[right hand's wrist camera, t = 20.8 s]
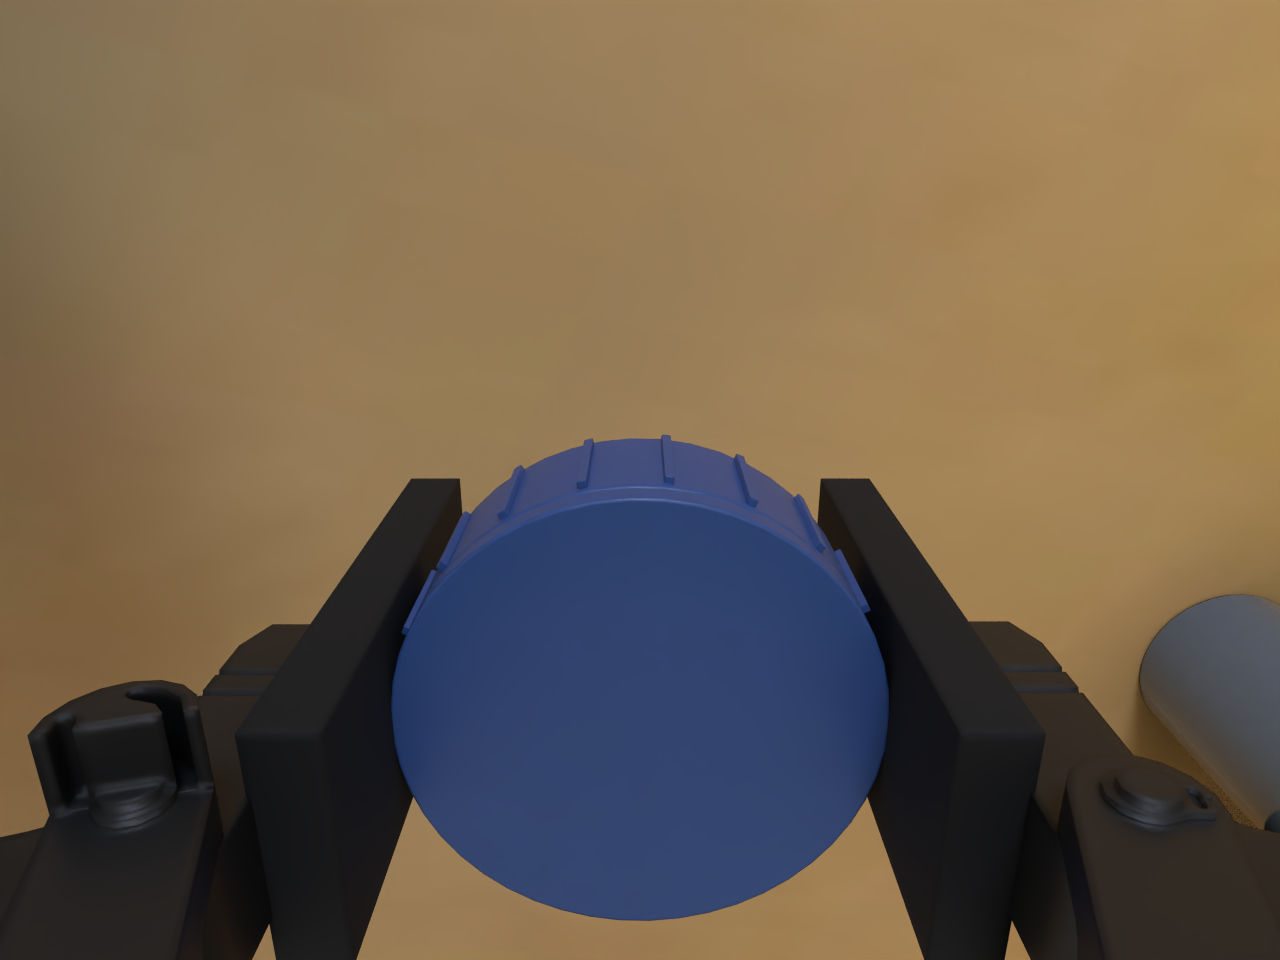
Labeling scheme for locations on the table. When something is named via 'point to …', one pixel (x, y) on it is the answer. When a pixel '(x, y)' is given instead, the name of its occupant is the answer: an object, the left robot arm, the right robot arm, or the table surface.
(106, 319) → the table surface
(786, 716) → the lid
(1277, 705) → the jar
